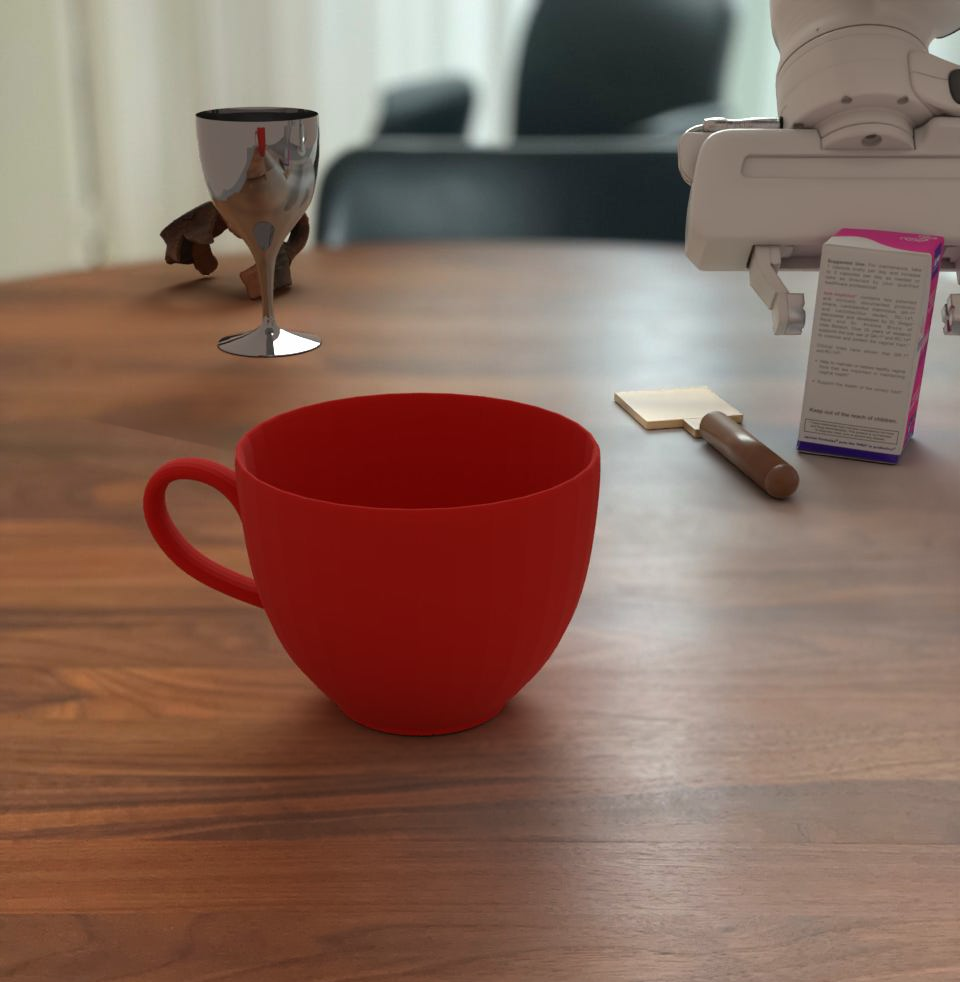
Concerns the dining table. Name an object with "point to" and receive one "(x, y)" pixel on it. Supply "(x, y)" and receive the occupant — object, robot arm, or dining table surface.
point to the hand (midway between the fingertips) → (875, 330)
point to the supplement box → (869, 343)
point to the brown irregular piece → (205, 223)
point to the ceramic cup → (406, 547)
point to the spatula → (712, 431)
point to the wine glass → (261, 199)
